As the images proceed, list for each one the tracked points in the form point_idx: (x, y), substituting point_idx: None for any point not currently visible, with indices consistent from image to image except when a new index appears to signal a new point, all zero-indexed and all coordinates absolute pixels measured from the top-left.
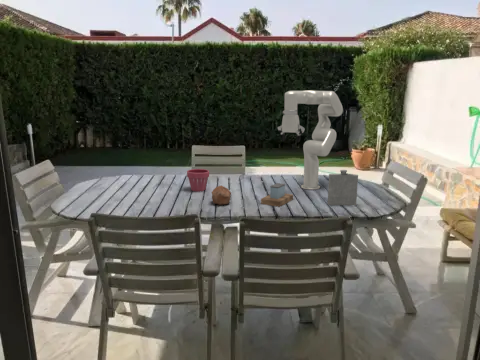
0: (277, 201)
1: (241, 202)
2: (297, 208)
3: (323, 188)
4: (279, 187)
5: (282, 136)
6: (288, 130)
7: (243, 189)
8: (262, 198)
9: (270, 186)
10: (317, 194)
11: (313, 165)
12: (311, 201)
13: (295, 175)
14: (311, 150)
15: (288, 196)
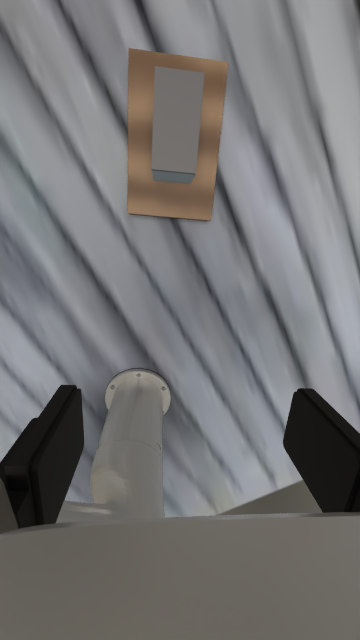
0: (142, 51)
1: (307, 54)
2: (56, 78)
3: (96, 405)
4: (154, 89)
5: (352, 435)
6: (282, 580)
7: (350, 267)
8: (223, 70)
9: (203, 73)
10: (81, 325)
11: (106, 446)
12: (56, 220)
13: (235, 502)
14: (97, 520)
15: (132, 170)
